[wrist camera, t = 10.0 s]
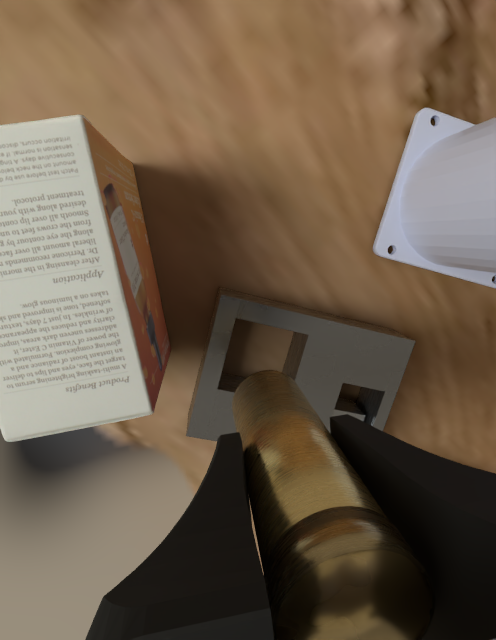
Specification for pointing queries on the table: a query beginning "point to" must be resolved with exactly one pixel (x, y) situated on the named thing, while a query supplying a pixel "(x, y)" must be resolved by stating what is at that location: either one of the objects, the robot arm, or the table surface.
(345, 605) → the gold metallic cylinder
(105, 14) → the table surface
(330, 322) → the socket block
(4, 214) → the small box
